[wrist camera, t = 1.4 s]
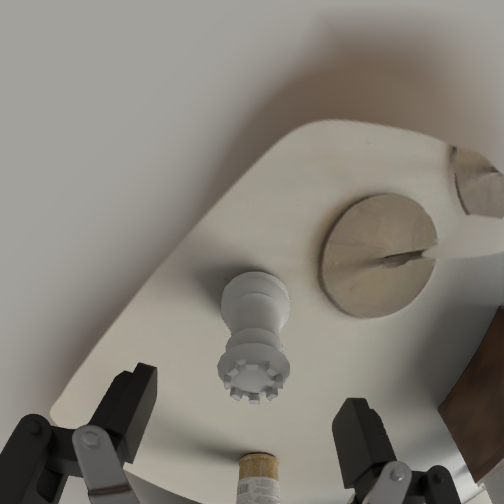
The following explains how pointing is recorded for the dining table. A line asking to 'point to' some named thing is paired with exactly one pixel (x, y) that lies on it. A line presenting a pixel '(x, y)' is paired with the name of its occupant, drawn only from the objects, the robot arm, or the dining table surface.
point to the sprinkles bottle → (258, 480)
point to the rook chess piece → (254, 336)
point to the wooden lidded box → (480, 406)
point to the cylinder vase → (495, 486)
